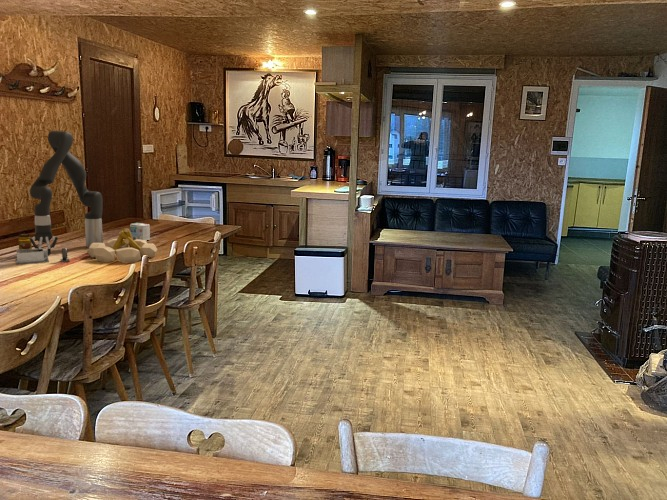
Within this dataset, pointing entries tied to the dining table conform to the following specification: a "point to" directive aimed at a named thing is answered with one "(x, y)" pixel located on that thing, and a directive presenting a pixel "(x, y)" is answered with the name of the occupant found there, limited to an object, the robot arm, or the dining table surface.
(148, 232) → the light bulb box
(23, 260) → the c link
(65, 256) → the peg stand
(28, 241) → the condiment
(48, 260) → the mat
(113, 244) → the campfire
